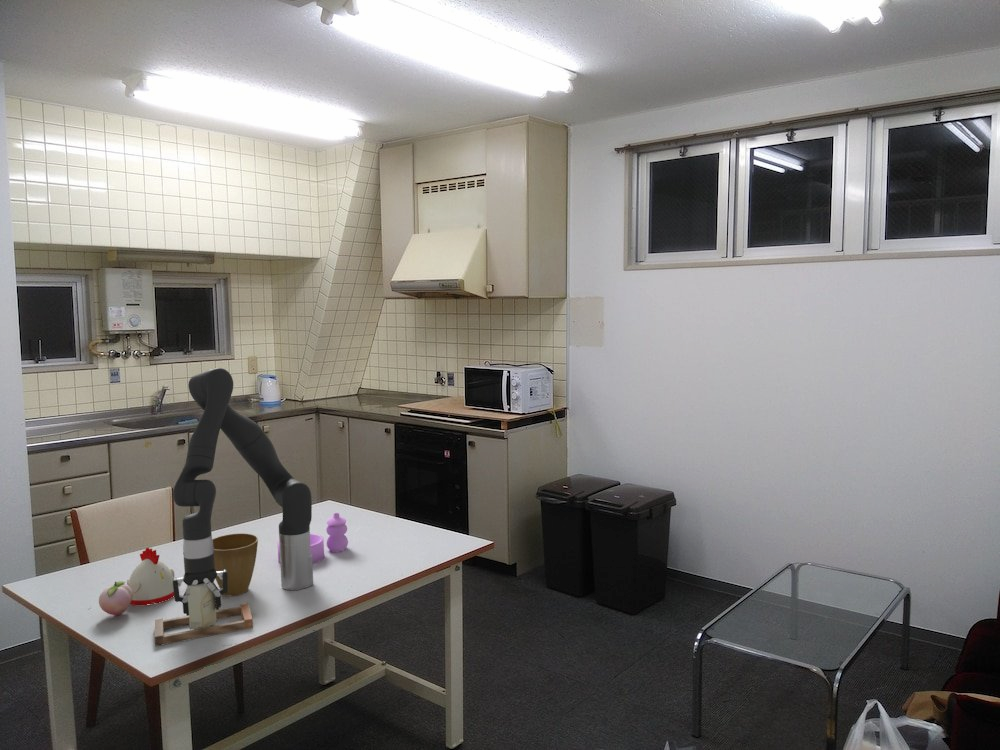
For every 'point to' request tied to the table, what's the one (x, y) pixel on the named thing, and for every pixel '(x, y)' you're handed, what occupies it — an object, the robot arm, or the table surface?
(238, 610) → the rectangular wooden frame
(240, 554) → the plant pot
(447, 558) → the table surface
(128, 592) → the decorative fruit
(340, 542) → the container set
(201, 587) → the skincare box
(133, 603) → the kitchen timer
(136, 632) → the table surface
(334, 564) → the table surface
